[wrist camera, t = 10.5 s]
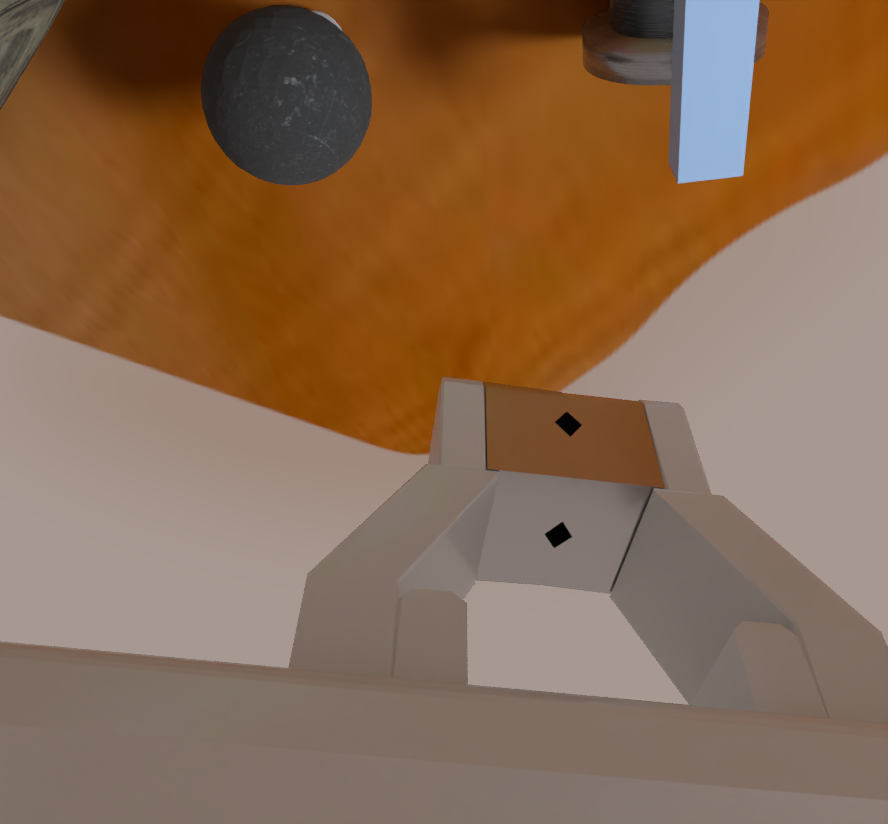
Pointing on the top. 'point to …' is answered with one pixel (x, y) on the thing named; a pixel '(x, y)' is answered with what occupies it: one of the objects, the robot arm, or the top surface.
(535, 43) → the top surface
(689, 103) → the lever
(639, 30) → the valve
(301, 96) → the light bulb
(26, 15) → the tabletop clock
